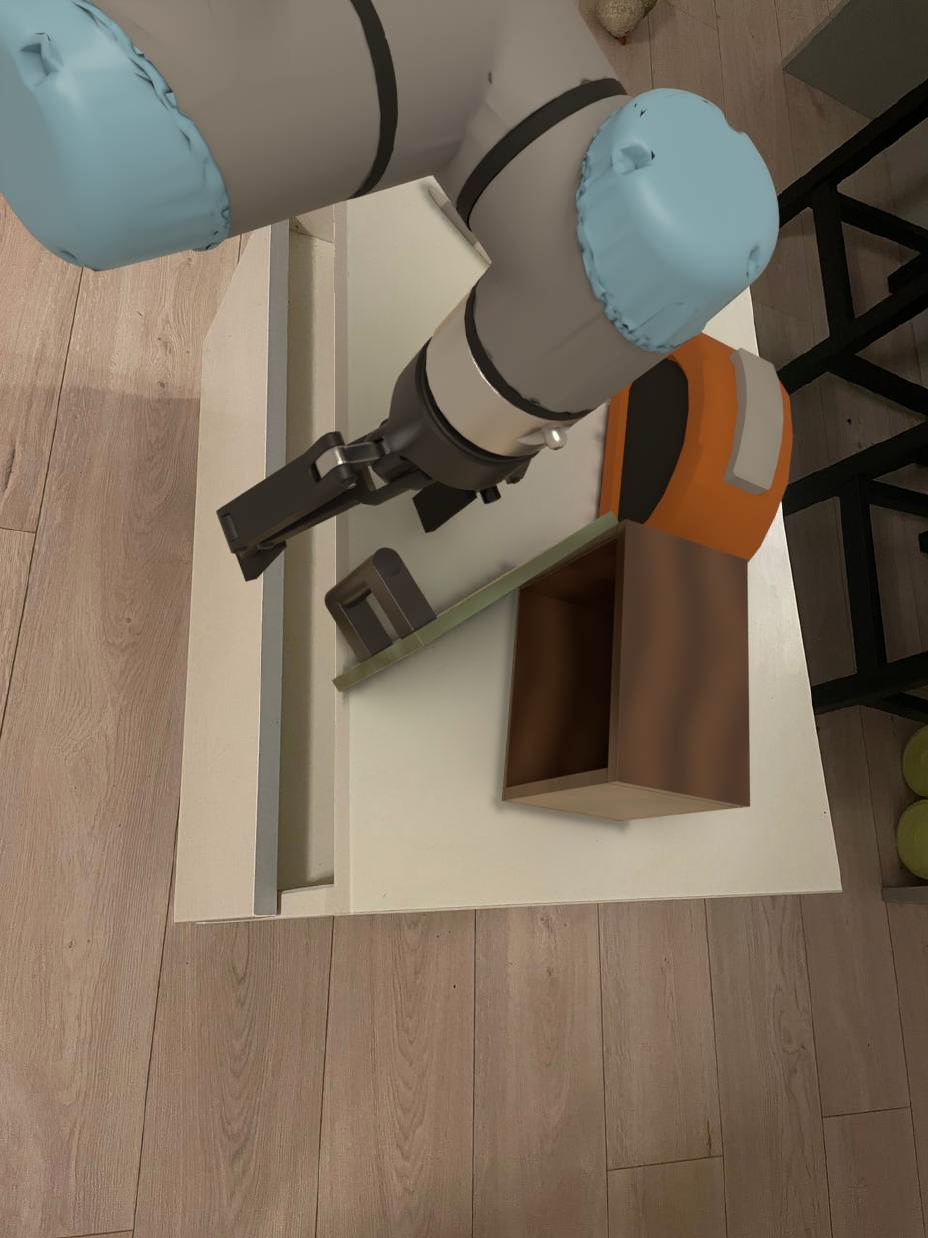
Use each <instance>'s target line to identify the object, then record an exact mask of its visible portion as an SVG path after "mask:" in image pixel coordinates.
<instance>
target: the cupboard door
mask: <svg viewBox="0 0 928 1238" xmlns="http://www.w3.org/2000/svg"><path fill="white" fill-rule="evenodd" d="M618 523H619V522H618V520H617V518H616V517H615V515H614V513H613V512H612V511H610V512H608V513H606V514H605V515H603V516H601V517H600V518H599V517H598V518H596V519H595V520H593V521H591V522H590V523H588V524H586V525H584V526H583V527H581V528H579V529H578V530H576V531H574V532H573V533H571V534H569V535H567V536H566V537H563V538H562V539H561V540H559V541H557V542H556V543H554V544H552V545H551V546H549V547H547V548H546V549H544V550H543V551H541V552H538V553H537V554H536V555H533V556H532V557H530V558H529V559H527V560H525V561H524V562H522V563H520V564H518V565H517V566H515V567H513V568H512V569H510V570H509V571H506V572H505V573H503V574H502V575H500V576H499V577H497V578H495V579H494V580H492V581H490V582H489V583H488V584H486V585H484V586H482V587H480V588H479V589H478V590H475V592H472V593H471V594H470V595H467V596H466V597H465V598H463V599H461V600H459V601H458V602H456V603H454V604H453V605H452V606H450V607H448V608H447V609H445V610H443V611H442V612H440V613H439V614H436V613H435V612H434V610H433V608H432V607H431V605H430V603H429V601H428V600H427V598H426V596H425V595H424V593H423V592H422V590H421V589H420V587H419V585H418V583H417V582H416V580H415V579H414V577H413V576H412V574H411V572H410V571H409V569H408V567H407V565H406V564H405V562H404V561H403V559H402V557H401V556H400V553H398V552H397V551H396V550H395V549H393V548H390V547H387V546H386V547H385V546H384V547H380V548H378V549H377V550H375V551H373V553H372V554H371V555H369V556H368V557H367V558H365V560H363V561H362V562H361V563H360V564H359V565H358V566H356V567H355V568H354V569H353V570H352V571H350V572H349V573H348V574H346V576H344V577H342V579H341V580H339V581H338V582H337V583H336V584H335V585H333V586H332V587H331V588H330V589H329V590H328V591H326V594H325V596H324V605H325V608H326V609H327V611H328V612H329V614H330V616H331V617H332V619H333V620H334V622H335V624H336V626H337V627H338V629H339V630H340V632H341V633H342V636H343V637H344V638H345V640H346V641H347V643H348V645H349V647H350V648H351V651H353V653H354V655H355V657H356V658H357V659H358V662H359V663H357V664H356V665H354V666H353V667H351V668H349V669H348V670H346V671H344V672H343V673H341V674H340V675H337V676H336V677H335V678H333V679H331V682H332V683H333V685H334V687H335V688H336V690H337V692H339V693H341V692H342V691H344V690H346V689H348V688H350V687H351V686H354V685H356V684H357V683H359V682H361V681H363V680H364V679H366V678H368V677H370V676H372V675H374V674H376V673H378V672H379V671H381V670H383V669H385V668H387V667H388V666H391V665H392V664H394V663H396V662H398V661H400V660H401V659H404V658H405V657H407V656H409V655H411V654H413V653H415V652H416V651H418V650H420V649H422V648H425V646H427V645H428V644H430V643H432V642H434V641H436V640H437V639H438V638H440V637H441V636H443V635H444V634H446V633H448V632H449V631H452V629H454V628H456V627H457V626H459V625H460V624H462V623H464V622H465V621H467V620H468V619H470V618H472V617H473V616H475V615H476V614H478V613H479V612H481V611H482V610H484V609H486V608H487V607H489V606H490V605H492V604H493V603H495V602H497V601H498V600H500V599H501V598H503V597H504V596H506V595H508V594H509V593H511V592H512V591H514V590H516V589H518V587H519V586H520V585H522V584H523V583H525V582H527V581H528V580H530V579H531V578H533V577H534V576H536V575H538V574H539V573H541V572H542V571H544V570H546V569H547V568H549V567H550V566H552V565H553V564H555V563H557V562H558V561H560V560H561V559H563V558H565V557H566V556H568V555H569V554H571V553H572V552H574V551H576V550H577V549H579V548H580V547H582V546H583V545H585V544H587V543H588V542H590V541H591V540H593V539H595V538H596V537H598V536H599V535H601V534H602V533H604V532H606V531H607V530H609V529H610V528H612V527H613V526H615V525H617V524H618ZM372 595H373V596H374V598H375V600H376V602H377V603H378V604H379V606H380V608H381V609H382V612H383V613H384V614H385V616H386V617H387V619H388V621H389V623H390V624H391V625H392V627H393V629H394V631H395V632H396V634H397V636H398V639H396V640H394V641H392V639H391V637H390V635H389V633H388V632H387V630H386V629H385V627H384V626H383V625H382V623H381V621H380V619H379V618H378V616H377V615H376V613H375V611H374V609H373V608H372V605H371V604H370V603H369V602H368V600H367V599H368V598H369V597H370V596H372Z"/></svg>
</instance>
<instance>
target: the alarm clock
mask: <svg viewBox="0 0 928 1238" xmlns="http://www.w3.org/2000/svg"><path fill="white" fill-rule="evenodd" d="M608 406H609V410H608V420H607V432H606V441H605V450H604V460H603V469H602V470H603V471H602V481H601V492H600V503H599V512H598V518H600V517H601V516H603V515H605V514H606V513H608V512H610V511H612V512H613V513H614V515H615V517H616V518H617V520H618V522H619V523H620V522H622V521H624V520H625V519H627V520H630V521H633V522H636V523H639V524H642V525H645V526H648V527H651V528H654V529H657V530H660V531H663V532H666V533H669V534H672V535H675V536H678V537H681V538H684V539H687V540H690V541H693V542H696V543H699V544H702V545H705V546H708V547H711V548H714V549H717V550H720V551H723V552H726V553H729V554H732V555H735V556H738V557H741V558H744V559H747V560H748V563H749V562H750V561H751V560H752V558H753V557H754V556H755V555H756V553H757V552H758V551H759V549H760V548H761V547H762V545H763V543H764V540H765V538H766V537H767V535H768V533H769V530H770V528H771V526H772V524H773V522H774V521H775V519H776V516H777V513H778V510H779V508H780V505H781V503H782V500H783V497H784V494H785V492H786V489H787V487H788V484H789V476H790V468H791V459H792V449H793V439H794V435H793V433H794V432H793V423H792V411H791V410H792V409H791V399H790V396H789V393H788V391H787V390H786V388H785V387H784V385H783V383H782V382H781V380H780V379H779V376H778V374H777V372H776V368H775V366H774V364H773V363H772V362H770V361H769V360H766V359H764V358H762V357H760V356H758V355H757V354H754V353H753V352H750V351H749V350H747V349H744V347H743V348H742V347H739V348H738V349H736V348H734V347H732V346H729V345H727V344H726V343H724V342H722V341H720V340H719V339H716V338H714V337H712V336H711V335H708V334H706V333H704V332H703V331H702V332H701V333H699V334H698V335H696V336H695V337H694V338H692V339H691V340H689V341H688V342H686V343H685V344H683V345H682V346H681V347H679V348H678V349H677V350H675V351H674V352H672V353H671V354H670V355H668V356H667V357H666V358H664V359H663V360H662V361H660V362H659V363H657V364H656V365H655V366H653V367H652V368H651V369H649V370H648V371H647V372H645V373H644V374H643V375H641V376H640V377H638V378H637V379H636V380H634V381H633V382H632V383H630V384H629V385H628V386H626V387H625V388H623V389H622V390H621V391H619V392H618V393H617V394H615V395H614V396H613V397H611V398H610V399H609V400H608Z"/></svg>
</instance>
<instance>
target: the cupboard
mask: <svg viewBox="0 0 928 1238" xmlns="http://www.w3.org/2000/svg"><path fill="white" fill-rule="evenodd" d="M748 564H749V562H748V560H747V559H744V558H741V557H738V556H735V555H732V554H729V553H726V552H723V551H720V550H717V549H714V548H711V547H708V546H705V545H702V544H699V543H696V542H693V541H690V540H687V539H684V538H681V537H678V536H675V535H672V534H669V533H666V532H663V531H660V530H657V529H654V528H651V527H648V526H645V525H642V524H639V523H636V522H633V521H630V520H627V519H625V520H624V521H622V522H620V523H618V524H617V525H615V526H613V527H612V528H610V529H609V530H607V531H606V532H604V533H602V534H601V535H599V536H598V537H596V538H595V539H593V540H591V541H590V542H588V543H587V544H585V545H583V546H582V547H580V548H579V549H577V550H576V551H574V552H572V553H571V554H569V555H568V556H566V557H565V558H563V559H561V560H560V561H558V562H557V563H555V564H553V565H552V566H550V567H549V568H547V569H546V570H544V571H542V572H541V573H539V574H538V575H536V576H534V577H533V578H531V579H530V580H528V581H527V582H525V583H523V584H522V585H520V586H519V587H517V597H516V608H515V609H516V612H515V624H514V635H513V637H514V638H513V648H512V649H513V650H512V662H511V675H510V677H511V678H510V689H509V703H508V713H507V715H508V716H507V727H506V741H505V755H504V766H503V778H502V779H503V780H502V790H501V791H502V792H501V793H502V794H501V801H502V802H504V803H505V802H506V803H510V804H511V803H512V804H518V805H522V806H529V807H536V808H540V809H546V810H552V811H556V812H557V811H558V812H562V813H563V812H564V813H570V814H576V815H582V816H587V817H593V818H599V819H605V820H610V821H611V820H612V821H616V822H624V821H632V820H643V819H651V818H661V817H670V816H677V815H679V816H680V815H688V814H689V815H690V814H696V813H705V812H714V811H715V812H717V811H722V810H723V811H725V810H732V809H742V808H743V809H744V808H750V807H751V756H750V755H751V753H750V752H751V751H750V749H751V748H750V747H751V745H750V743H751V742H750V741H751V740H750V739H751V738H750V663H749V662H750V659H749V657H750V656H749V655H750V654H749V653H750V651H749V650H750V649H749V646H750V645H749V570H748V569H749V568H748V567H749V565H748Z"/></svg>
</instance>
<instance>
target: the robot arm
mask: <svg viewBox="0 0 928 1238" xmlns="http://www.w3.org/2000/svg"><path fill="white" fill-rule="evenodd" d="M431 176H432V177H433V178H434V179H435V181H436V183H437V184H438V186H439V187H440V189H441V190H442V192H443V194H444V196H445V197H446V199H447V200H448V201H449V202H450V203H451V204H452V205H453V207H454V208H455V210H456V211H457V213H458V214H459V215H460V217H461V219H462V220H463V222H464V223H465V225H466V226H467V228H468V230H469V231H471V232H473V234H474V235H475V237H476V238H477V240H478V241H479V243H480V245H481V246H482V248H483V249H484V251H485V252H486V254H487V255H488V257H489V259H490V260H491V264H490V265H489V266H488V267H487V268H486V270H485V271H484V272H483V274H482V275H480V277H479V279H477V281H476V282H475V283H474V285H472V287H471V288H470V289H469V290H468V291H467V293H466V294H465V295H464V296H463V298H462V299H460V301H458V303H457V304H456V305H455V306H454V308H453V309H452V310H451V311H450V312H449V313H448V314H447V316H445V318H444V319H442V321H441V323H439V325H438V326H437V327H436V328H435V330H434V332H433V334H432V336H430V338H428V340H427V341H426V342H425V343H424V344H423V346H422V347H421V348H420V349H419V350H418V351H417V352H416V354H415V355H414V356H413V357H412V358H411V360H410V361H409V362H408V363H407V365H406V366H405V367H404V368H403V369H402V371H401V372H400V374H399V376H398V377H397V379H396V380H395V384H394V386H393V390H392V394H391V398H390V399H391V400H390V406H389V411H388V412H389V413H388V417H387V418H385V419H384V420H383V421H381V423H380V424H379V427H377V428H376V429H374V430H372V431H371V432H368V433H367V434H365V435H362V436H361V437H359V438H357V439H355V440H353V441H351V442H349V443H347V444H346V443H345V440H344V437H343V435H342V432H341V431H339V430H338V431H337V430H334V431H329V432H327V433H325V434H323V435H321V436H320V437H319V438H318V439H317V440H316V441H314V443H313V444H312V445H311V446H310V447H309V448H308V449H307V450H306V451H305V452H304V453H303V454H301V455H299V456H298V457H296V458H295V459H293V460H291V461H290V462H289V463H286V464H285V465H284V466H283V467H281V468H280V469H278V470H276V471H274V472H273V473H271V474H270V475H269V476H267V477H266V478H264V479H263V480H261V481H260V482H258V483H256V484H255V485H253V486H252V487H250V488H248V489H247V490H245V491H244V492H242V493H241V494H239V495H238V496H236V497H235V498H233V499H232V500H230V501H229V502H227V503H225V504H224V505H222V506H221V507H219V508H218V509H217V510H216V511H215V513H216V515H217V520H218V521H219V524H220V527H221V530H222V532H223V535H224V538H225V541H226V543H227V545H228V549H229V551H230V553H231V554H233V555H235V557H236V559H237V562H238V566H239V568H240V569H241V574H242V576H243V578H244V579H243V580H244V581H245V582H246V583H248V582H251V581H254V580H257V579H258V578H259V577H260V576H261V575H262V574H263V573H264V572H265V571H266V570H267V569H268V568H269V566H271V564H273V562H274V561H275V560H276V559H277V558H278V557H279V556H280V554H281V553H282V552H283V551H284V550H286V548H287V547H288V544H287V540H288V539H291V538H293V537H295V536H298V535H299V534H301V533H304V532H306V531H307V530H309V529H312V528H314V527H316V526H317V525H319V524H321V523H324V522H326V521H328V520H330V519H332V518H334V517H337V516H338V515H340V514H343V513H344V512H346V511H348V510H350V509H352V508H354V507H357V506H359V505H361V504H362V505H367V506H372V507H376V506H379V505H382V504H384V503H385V502H388V501H389V500H392V499H393V498H396V497H398V496H400V495H403V494H404V493H406V492H408V491H415V492H417V491H418V492H417V493H415V494H414V495H413V496H412V497H411V500H412V503H413V506H414V507H415V510H416V513H417V516H418V518H419V520H420V524H421V526H422V529H423V530H424V533H425V534H428V533H429V534H430V533H432V532H436V530H437V529H439V528H440V527H442V526H443V525H445V523H447V522H448V521H449V520H451V519H452V518H453V517H455V516H456V515H458V513H460V512H461V511H462V510H464V509H465V508H466V507H468V506H469V505H470V504H471V503H473V502H474V501H475V500H477V499H478V495H477V494H478V493H479V495H480V498H481V500H482V503H483V505H488V504H492V503H495V502H497V501H499V500H500V499H502V495H501V493H500V490H499V487H498V484H500V483H503V482H504V481H505V483H506V485H511V484H512V485H515V484H518V483H519V482H521V480H522V479H524V478H525V476H526V473H527V471H528V468H529V466H530V464H531V463H532V460H533V458H535V457H536V456H537V455H538V454H539V453H540V452H541V451H542V450H543V449H545V448H546V447H548V449H549V450H552V451H558V450H561V449H563V448H564V447H565V446H566V445H567V443H568V436H567V433H566V432H567V431H568V430H569V429H571V428H572V427H573V426H574V425H575V424H577V423H578V422H580V421H581V420H583V419H585V417H587V416H588V415H589V414H591V413H592V412H594V411H595V410H597V409H598V408H599V407H601V406H602V405H603V404H605V403H606V402H607V401H609V399H610V398H611V397H613V396H614V395H615V394H617V393H618V392H619V391H621V390H622V389H623V388H625V387H626V386H628V385H629V384H630V383H632V382H633V381H634V380H636V379H637V378H638V377H640V376H641V375H643V374H644V373H645V372H647V371H648V370H649V369H651V368H652V367H653V366H655V365H656V364H657V363H659V362H660V361H662V360H663V359H664V358H666V357H667V356H668V355H670V354H671V353H672V352H674V351H675V350H677V349H678V348H679V347H681V346H682V345H683V344H685V343H686V342H688V341H689V340H691V339H692V338H694V337H695V336H696V335H698V334H699V333H701V332H702V333H703V330H705V328H706V326H707V324H708V322H710V321H711V320H712V319H713V318H715V316H717V315H718V314H719V313H720V312H721V311H723V310H724V309H725V308H726V307H727V306H729V304H730V303H732V302H733V301H734V300H736V298H738V296H740V295H741V294H742V293H743V292H745V291H746V290H747V289H748V288H749V287H750V286H751V285H752V284H753V283H754V282H755V281H756V280H757V279H758V278H759V277H760V276H761V275H762V273H763V272H764V271H765V269H766V268H767V267H768V264H769V263H770V261H771V259H772V257H773V255H774V251H775V248H776V245H777V241H778V237H779V232H780V231H779V229H780V213H779V212H780V211H779V202H778V197H777V192H776V189H775V185H774V182H773V179H772V175H771V174H770V171H769V168H768V166H767V164H766V162H765V160H764V158H763V157H762V155H761V154H760V152H759V150H758V149H757V147H756V146H755V144H754V143H753V141H752V139H751V137H749V135H748V134H746V132H744V131H736V130H735V129H734V128H733V127H732V126H731V125H730V124H729V123H728V122H727V119H726V116H725V114H724V112H723V111H722V109H721V108H719V106H718V105H716V104H714V103H713V102H712V101H710V100H708V99H706V98H704V97H703V96H700V95H698V94H696V93H693V92H691V91H687V90H683V89H679V88H670V87H669V88H667V87H666V88H665V87H660V88H654V89H651V90H648V91H646V92H643V93H641V94H638V95H637V96H635V97H633V96H632V95H629V94H628V92H627V91H626V89H625V87H624V86H623V84H622V82H621V80H620V78H619V77H618V75H617V74H616V72H615V70H614V67H612V65H611V64H610V62H609V60H608V58H607V56H606V55H605V54H604V52H603V50H602V48H601V46H600V44H599V43H598V40H597V39H596V38H595V36H594V35H593V33H592V31H591V30H590V28H589V26H588V25H587V23H586V21H585V20H584V18H583V16H582V15H581V13H580V11H579V9H578V7H577V5H576V4H575V3H574V1H573V0H0V193H1V195H2V197H3V198H4V200H5V202H6V203H7V205H8V206H9V207H10V209H11V210H12V212H13V213H14V215H15V216H16V218H17V219H18V220H19V221H20V223H21V224H22V226H23V227H24V228H25V229H26V230H27V232H28V233H29V234H30V235H31V236H32V237H33V238H34V239H35V240H36V241H37V242H38V243H39V244H40V245H41V246H43V247H44V248H45V249H46V250H47V251H48V252H50V253H51V254H52V255H54V256H55V257H57V258H59V259H60V260H62V261H64V262H66V263H68V264H70V265H74V266H76V267H79V268H81V269H82V268H87V269H89V270H91V271H93V272H95V273H96V272H106V271H112V270H115V269H119V268H123V267H127V266H131V265H135V264H139V263H143V262H146V261H147V262H148V261H151V260H156V259H159V258H163V257H166V256H171V255H175V254H178V253H183V252H186V251H187V252H188V251H190V250H191V251H193V252H198V253H199V252H207V251H211V250H214V249H216V248H217V247H219V245H221V243H223V242H225V241H227V240H228V239H229V240H230V239H232V238H235V237H237V236H238V237H239V236H241V235H245V234H246V233H251V232H253V231H256V230H260V229H262V228H265V227H269V226H271V225H275V224H277V223H280V222H284V221H286V220H287V221H288V220H290V219H293V218H295V217H299V216H302V215H305V214H308V213H312V212H314V211H317V210H321V209H323V208H326V207H329V206H332V205H335V204H339V203H341V202H346V201H351V200H354V199H358V198H361V197H365V196H368V195H370V194H371V195H372V194H374V193H379V192H381V191H384V190H388V189H391V188H395V187H399V186H401V185H404V184H408V183H411V182H414V181H417V180H421V179H425V178H427V177H431ZM369 467H370V468H371V470H372V471H373V472H374V473H375V474H376V475H377V476H378V477H379V479H380V480H381V481H383V482H384V484H385V485H382V486H381V487H379V488H377V487H376V484H375V481H374V479H373V477H372V473H371V471H370V469H369Z"/></svg>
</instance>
